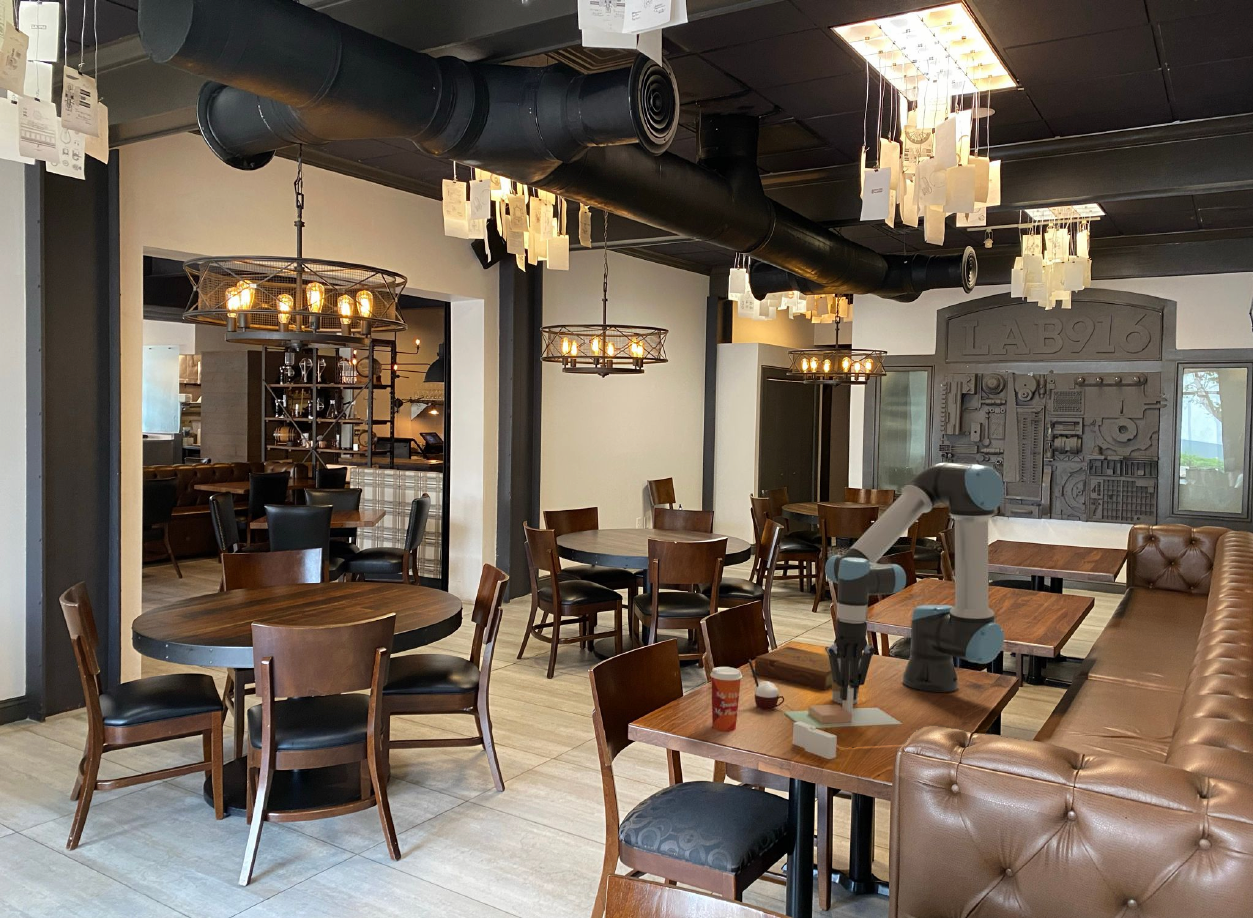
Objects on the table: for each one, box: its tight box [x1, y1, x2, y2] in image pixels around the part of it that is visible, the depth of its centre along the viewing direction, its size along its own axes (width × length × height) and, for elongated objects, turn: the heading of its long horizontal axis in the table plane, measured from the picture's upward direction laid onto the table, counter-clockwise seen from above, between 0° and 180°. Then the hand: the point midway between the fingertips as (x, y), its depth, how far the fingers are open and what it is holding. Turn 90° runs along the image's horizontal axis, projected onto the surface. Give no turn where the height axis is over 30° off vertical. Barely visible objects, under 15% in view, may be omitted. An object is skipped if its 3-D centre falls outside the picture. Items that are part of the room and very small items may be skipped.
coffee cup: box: [831, 649, 863, 705], centre depth 256 cm, size 8×8×15 cm
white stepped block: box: [792, 721, 838, 760], centre depth 220 cm, size 15×11×6 cm
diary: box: [754, 646, 832, 692], centre depth 282 cm, size 23×19×6 cm
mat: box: [783, 707, 903, 730], centre depth 242 cm, size 26×13×1 cm, turn 103°
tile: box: [807, 703, 852, 724], centre depth 242 cm, size 2×8×8 cm
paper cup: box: [710, 666, 743, 732], centre depth 233 cm, size 8×8×14 cm
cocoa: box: [748, 659, 785, 711], centre depth 250 cm, size 10×6×12 cm, turn 55°
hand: (847, 712), depth 243 cm, fingers closed
